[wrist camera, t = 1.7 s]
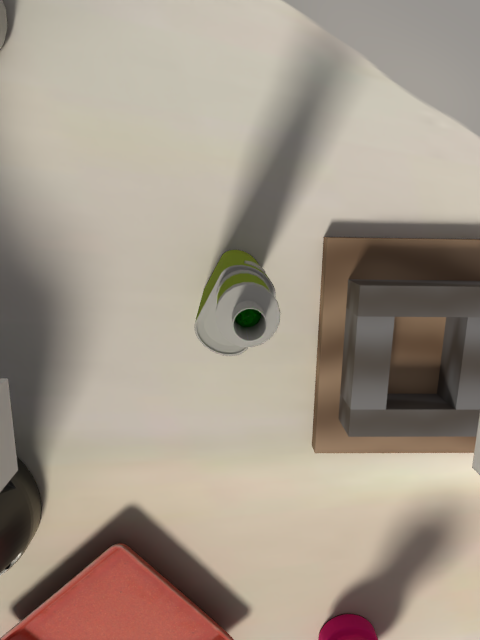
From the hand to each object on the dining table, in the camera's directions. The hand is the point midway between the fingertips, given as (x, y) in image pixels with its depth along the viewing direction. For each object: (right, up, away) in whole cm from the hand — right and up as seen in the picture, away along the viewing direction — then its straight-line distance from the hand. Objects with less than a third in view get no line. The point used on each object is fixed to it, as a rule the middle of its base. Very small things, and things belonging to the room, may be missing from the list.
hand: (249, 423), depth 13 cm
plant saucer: (-13, -30, +36) cm, 48 cm away
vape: (-1, +6, +28) cm, 29 cm away
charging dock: (+15, 0, +30) cm, 33 cm away
